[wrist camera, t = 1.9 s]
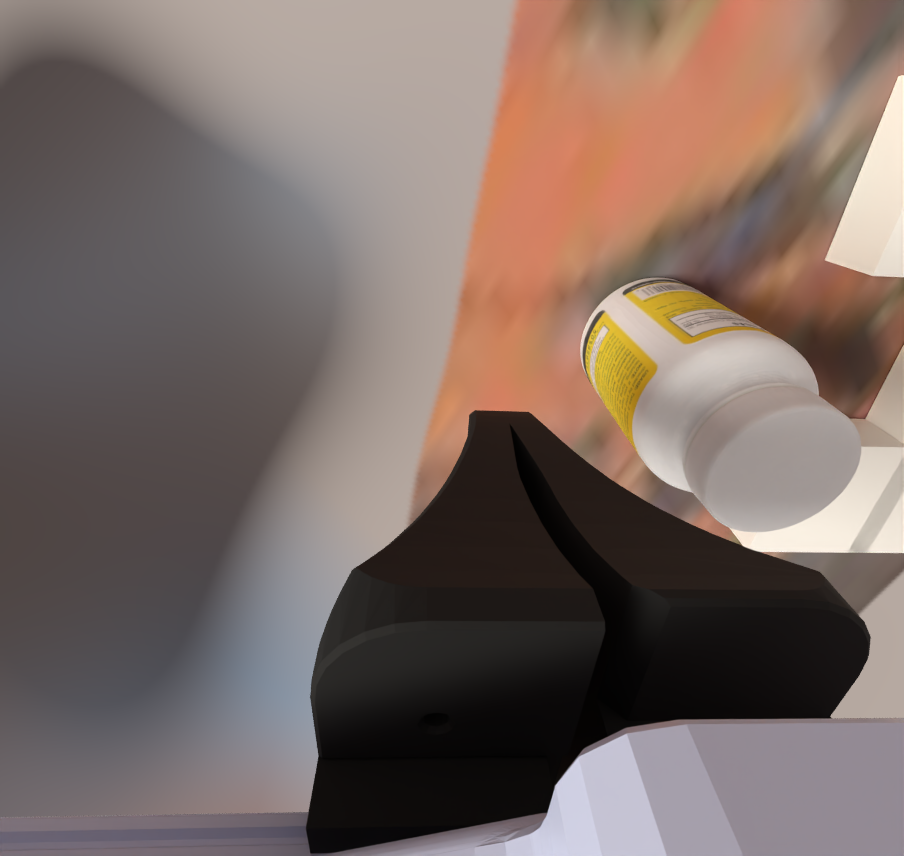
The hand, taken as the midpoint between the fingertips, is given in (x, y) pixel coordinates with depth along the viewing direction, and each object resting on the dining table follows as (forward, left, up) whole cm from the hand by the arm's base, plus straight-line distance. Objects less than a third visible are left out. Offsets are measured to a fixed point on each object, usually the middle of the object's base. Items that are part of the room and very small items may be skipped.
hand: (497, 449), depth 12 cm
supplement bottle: (-1, -7, -11) cm, 13 cm away
